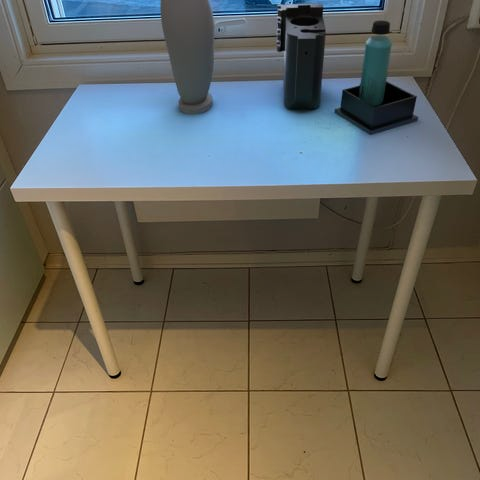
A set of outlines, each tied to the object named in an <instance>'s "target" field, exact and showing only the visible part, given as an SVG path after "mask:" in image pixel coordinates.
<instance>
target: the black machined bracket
mask: <svg viewBox="0 0 480 480" xmlns="http://www.w3.org/2000/svg"><path fill="white" fill-rule="evenodd" d="M276 26H277V28H276V52H277V53H282V52H283V79H282V80H283V81H282V82H283V83H282V85H283V86H282V94H283V105H284V107H285V108H286V109H288V110H315V109H317V108H319V106H321V98H322V97H321V95H322V88H323V87H322V83H323V74H324V73H323V71H324V59H325V47H326V37H327V36H326V35H327V32H326V29H327V28H326V24H325V20H324V4H322V3H293V4H291V3H290V4H281V3H280V4H277V19H276Z"/></svg>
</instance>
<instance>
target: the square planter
mask: <svg viewBox="0 0 480 480" xmlns="http://www.w3.org/2000/svg"><path fill="white" fill-rule="evenodd" d="M386 82H387V83H386V85H385V87H386V89H385V91H384V93H385V95H384V98H383V102H382V104H380V105H378V106H372V105H370V104H369V103H367V102H365V101H363V100H362V99H360V98H359V89H360V88H359V87H360V84H359V85H356V86H352V87H348V88H344V89H342V90H341V97H340V98H341V99H340V107H337V108H334V113H335V114H336V115H338V116H339V117H341V118H342V119H344V120H346V121H347V122H349V123H351V124H352V125H354V126H356V128H358V129H360V130H362V131H364V132H365V133H366V134H368V135H370V136H371V135H375V134H377V133H378V134H379V133H381V132H385V131H388V130H391V129H395V128H397V127H402V126H404V125H408V124H411V123H415V122H417V121H418V120H419V116H417V115H416V114H414V113H415V107H416V103H417V97H418V96H417V95H415V94H413V93H411V92H409V91H407V90H406V89H403V88H401V87H399V86H397V85H395V84H392V83H391V82H389V81H386Z"/></svg>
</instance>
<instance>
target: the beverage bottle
mask: <svg viewBox="0 0 480 480" xmlns="http://www.w3.org/2000/svg"><path fill="white" fill-rule="evenodd" d="M371 27H372V28H371V31H370V32H371V34H374V35H372V36H370V37H369V38H368V39H367V40H366V41H365V43H364V44H365V48H364V54H363V61H362V64H361V65H362V69H361V75H360V83H359V85H360V87H359V88H360V89H359V98H360V99H362V100H363V101H365V102H367V103H369V104H370V105H372V106H378V105H380V104H382V102H383V98H384V95H385V93H384V91H385V89H386V87H385V85H386V83H387V82H388V81H387V79H388V73H389V72H388V71H389V64H390V59H391V58H390V57H391V53H392V46H393V42H392V40H391V38H389V37H388V36H386V35H388V34H390V30H391V23H390V21H387V20H375V21H373V23H372V26H371ZM386 81H387V82H386Z"/></svg>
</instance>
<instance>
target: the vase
mask: <svg viewBox="0 0 480 480" xmlns="http://www.w3.org/2000/svg"><path fill="white" fill-rule="evenodd" d="M159 7H160V8H159V9H160V11H159V12H160V20H161V21H160V22H161V28H162V33H163V38H164V41H165V42H164V43H165V46H166V50H167V53H168V57H169V61H170V67H171V71H172V74H173V78H174V82H175V87H176V90H177V93H178V95H179V97H180V98H179V99H178V109H179V111H180V112H182V113H183V114H187V115H197V114H198V115H199V114H203V113H205V112H207V111H209V110H210V109H211V108H212V107H213V105H214V101H213V100H214V99H213V96H212V94H211V93H209V91H210V88H211V84H212V78H213V75H214V69H215V68H214V67H215V20H214V14H213V9H212V6H211V3H210V0H160V6H159Z"/></svg>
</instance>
